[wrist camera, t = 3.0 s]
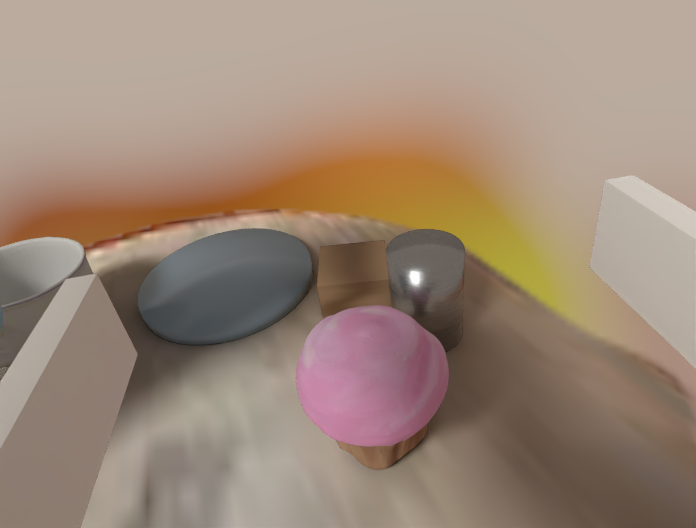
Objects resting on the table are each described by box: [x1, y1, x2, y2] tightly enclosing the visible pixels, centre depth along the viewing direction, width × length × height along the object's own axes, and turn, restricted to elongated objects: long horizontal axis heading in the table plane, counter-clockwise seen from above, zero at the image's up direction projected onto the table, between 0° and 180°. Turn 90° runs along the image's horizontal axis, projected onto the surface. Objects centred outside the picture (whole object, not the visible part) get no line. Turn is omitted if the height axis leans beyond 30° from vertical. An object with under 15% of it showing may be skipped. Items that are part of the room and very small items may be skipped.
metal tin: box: [386, 229, 465, 352], centre depth 37 cm, size 6×6×8 cm
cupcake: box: [296, 305, 449, 470], centre depth 29 cm, size 9×9×10 cm
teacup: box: [0, 237, 93, 368], centre depth 41 cm, size 14×11×8 cm
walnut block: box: [317, 240, 391, 319], centre depth 43 cm, size 6×6×4 cm
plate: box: [137, 228, 313, 345], centre depth 48 cm, size 17×17×1 cm
